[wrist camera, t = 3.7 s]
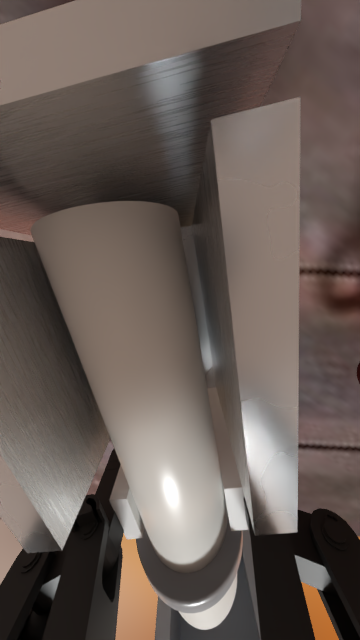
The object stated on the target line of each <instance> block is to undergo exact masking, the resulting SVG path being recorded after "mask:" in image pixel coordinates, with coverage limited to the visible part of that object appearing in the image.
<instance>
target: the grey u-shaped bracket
mask: <svg viewBox="0 0 360 640" xmlns="http://www.w3.org/2000/svg"><path fill="white" fill-rule="evenodd" d="M300 21H301V0H75V1H72V2H69V3H66V4H63V5H59V6H56V7H53V8H50V9H47V10H44V11H41V12H38V13H35V14H31V15H28V16H25V17H22V18H19V19H16V20H13V21H10V22H6V23H3V24H0V229H3V230H8V231H13V232H18V233H23V234H28V235H32V234H31V232H30V228H31V226H32V225H33V224H34V223H35V222H36V221H38V220H39V219H41V218H43V217H45V216H47V215H49V214H52V213H55V212H58V211H61V210H64V209H68V208H72V207H77V206H82V205H87V204H94V203H102V202H113V201H144V202H153V203H159V204H163V205H167V206H169V207H172V208H173V209H175V210H176V211H177V212H178V216H179V222H180V228H181V234H182V240H183V246H184V252H185V258H186V264H187V270H188V276H189V282H190V288H191V294H192V300H193V306H194V312H195V318H196V324H197V330H198V336H199V342H200V348H201V354H202V360H203V366H204V372H205V378H206V384H207V388H214V387H216V390H217V394H218V398H219V401H220V405H221V409H222V413H223V417H224V420H225V424H226V428H227V432H228V435H229V439H230V443H231V447H232V451H233V454H234V458H235V462H236V466H237V470H238V473H239V477H240V481H241V485H242V489H243V492H244V496H245V500H246V504H247V508H248V511H249V515H250V519H251V523H252V527H253V530H254V534H255V536H257V535H270V534H282V533H295V532H297V522H298V381H299V239H300V98H301V97H298V98H294V99H290V100H286V101H282V102H278V103H274V104H270V105H266V106H262V107H260V106H261V104H262V101H263V99H264V97H265V95H266V93H267V91H268V89H269V87H270V85H271V83H272V80H273V78H274V76H275V74H276V72H277V70H278V68H279V66H280V64H281V61H282V59H283V57H284V55H285V53H286V51H287V49H288V47H289V45H290V43H291V40H292V38H293V36H294V34H295V32H296V30H297V28H298V26H299V24H300ZM109 440H110V436H109V433H108V431H107V428H106V425H105V423H104V420H103V418H102V415H101V412H100V410H99V407H98V405H97V402H96V400H95V397H94V394H93V392H92V389H91V387H90V384H89V382H88V379H87V376H86V374H85V371H84V369H83V366H82V363H81V361H80V358H79V356H78V353H77V351H76V348H75V345H74V343H73V340H72V338H71V335H70V332H69V330H68V327H67V325H66V322H65V320H64V317H63V314H62V312H61V309H60V307H59V304H58V302H57V299H56V296H55V294H54V291H53V289H52V286H51V283H50V281H49V278H48V276H47V273H46V271H45V268H44V265H43V263H42V260H41V258H40V255H39V252H38V250H37V247H36V245H35V242H29V241H23V240H16V239H10V238H4V237H0V517H1V519H2V520H3V521H4V523H5V524H6V525H7V527H8V528H9V529H10V531H11V532H12V534H13V535H14V536H15V538H16V539H17V540H18V541H19V543H20V544H21V546H22V547H23V548H24V550H25V551H26V552H27V553H37V552H50V551H62V550H63V547H64V545H65V543H66V540H67V538H68V536H69V533H70V531H71V529H72V526H73V524H74V522H75V519H76V517H77V515H78V512H79V510H80V508H81V505H82V503H83V501H84V498H85V496H86V494H87V492H88V489H89V487H90V485H91V482H92V480H93V478H94V475H95V473H96V471H97V468H98V466H99V464H100V461H101V459H102V457H103V454H104V452H105V450H106V447H107V445H108V443H109Z"/></svg>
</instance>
